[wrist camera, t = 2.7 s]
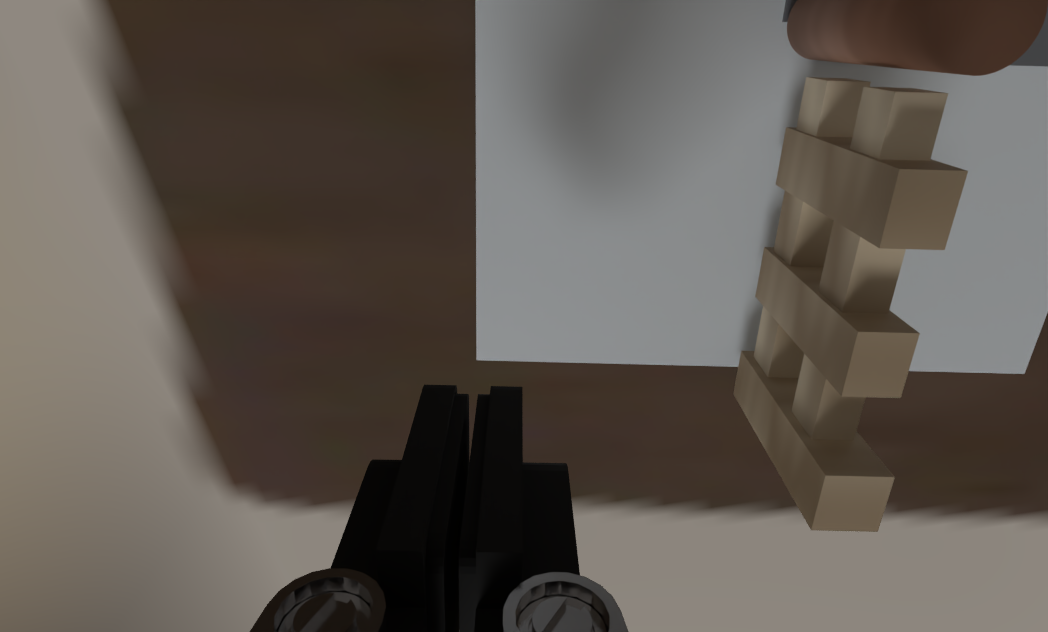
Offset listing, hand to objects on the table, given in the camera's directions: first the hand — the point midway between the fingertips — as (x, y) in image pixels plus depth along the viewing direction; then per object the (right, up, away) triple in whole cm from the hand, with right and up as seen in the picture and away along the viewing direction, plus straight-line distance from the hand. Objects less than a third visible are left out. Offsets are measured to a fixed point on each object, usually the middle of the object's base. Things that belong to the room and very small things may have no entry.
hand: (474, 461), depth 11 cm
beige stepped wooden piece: (+7, +5, +4) cm, 9 cm away
